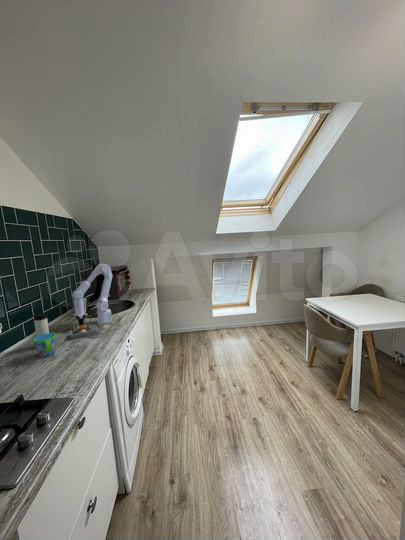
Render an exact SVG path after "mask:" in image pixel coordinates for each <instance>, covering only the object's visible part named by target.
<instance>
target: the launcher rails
mask: <svg viewBox="0 0 405 540" xmlns="http://www.w3.org/2000/svg"><path fill="white" fill-rule="evenodd" d="M86 324H87V328H88V331H91V330H92V329H91V325H90V322H87V323H86ZM72 326H73V334H77V331H76V330H77V328H76V325H72Z"/></svg>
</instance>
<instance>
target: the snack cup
mask: <svg viewBox="0 0 405 540" xmlns="http://www.w3.org/2000/svg"><path fill="white" fill-rule="evenodd" d="M57 337H58V335H57V333H55V332H49V333H47V334H43V335H40V336H37V337H36V336H35V337H34V338H33V339H32V342H33V344H34V346H35V349H36V352H37V355H38V356H39V357H40V358H45V357H50V356H52V355H54V354H55V353H56V347H57V344H56V343H57Z"/></svg>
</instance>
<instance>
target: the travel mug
mask: <svg viewBox="0 0 405 540" xmlns="http://www.w3.org/2000/svg"><path fill="white" fill-rule="evenodd" d="M33 322H34V328H35V337H37V336H40V335H43V334H47V333H50V330H49V322H48V315H47V312H41V313H37V314H35V315H33Z"/></svg>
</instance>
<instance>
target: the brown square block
mask: <svg viewBox="0 0 405 540" xmlns="http://www.w3.org/2000/svg"><path fill="white" fill-rule="evenodd" d="M83 329H84V330H86V331H89V328H88V325H87V323H86V324H83V325H77V326H76V330H77V331H76V332H77V333H80V331H81V330H83Z"/></svg>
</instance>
